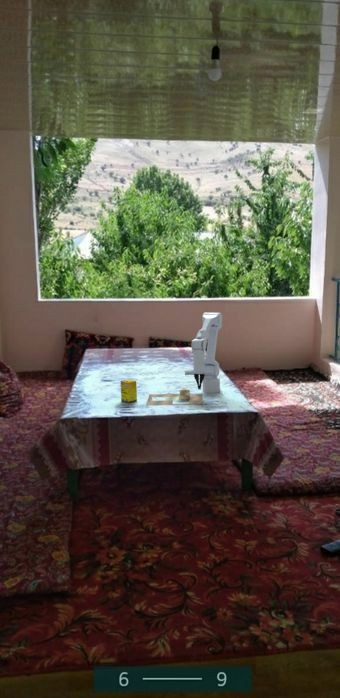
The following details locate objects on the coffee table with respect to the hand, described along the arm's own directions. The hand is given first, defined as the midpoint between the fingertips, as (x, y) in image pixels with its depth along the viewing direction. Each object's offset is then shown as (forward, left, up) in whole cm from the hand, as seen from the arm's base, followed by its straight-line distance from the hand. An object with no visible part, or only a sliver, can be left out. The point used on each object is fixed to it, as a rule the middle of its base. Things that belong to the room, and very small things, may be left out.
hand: (199, 388), depth 267 cm
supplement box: (+36, -1, -7) cm, 37 cm away
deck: (+12, +2, -7) cm, 14 cm away
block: (+7, 0, -5) cm, 9 cm away
